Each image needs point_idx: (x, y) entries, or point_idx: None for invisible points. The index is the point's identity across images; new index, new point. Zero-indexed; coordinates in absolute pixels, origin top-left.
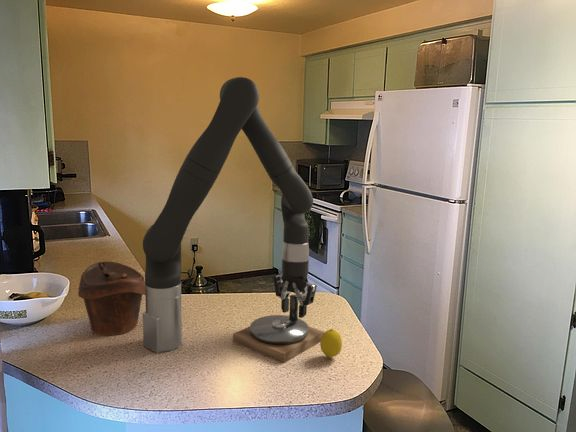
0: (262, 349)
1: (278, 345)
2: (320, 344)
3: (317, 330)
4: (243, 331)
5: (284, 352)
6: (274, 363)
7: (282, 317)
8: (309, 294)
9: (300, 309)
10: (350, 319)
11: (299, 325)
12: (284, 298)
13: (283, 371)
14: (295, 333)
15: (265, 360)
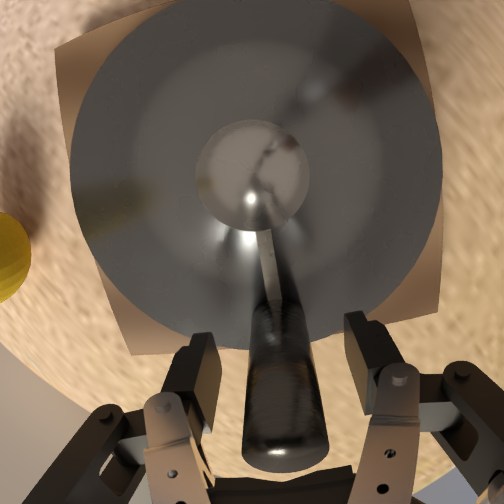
0: None
1: None
2: (4, 225)
3: (153, 344)
4: (399, 32)
5: (60, 54)
6: (100, 23)
7: (347, 289)
8: (48, 478)
9: (183, 370)
10: (230, 474)
11: (179, 286)
12: (378, 387)
13: (44, 29)
14: (102, 186)
15: (142, 2)
